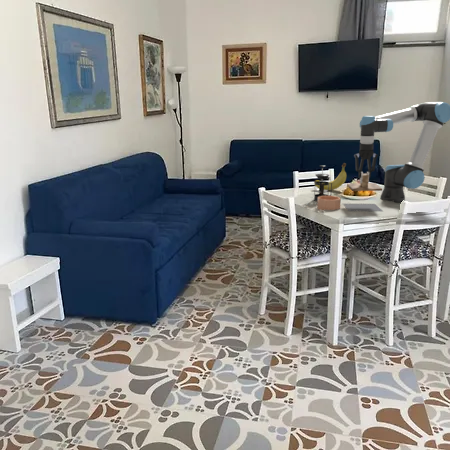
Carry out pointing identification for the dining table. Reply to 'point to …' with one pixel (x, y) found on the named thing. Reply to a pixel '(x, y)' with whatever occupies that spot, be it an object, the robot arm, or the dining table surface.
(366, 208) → the mat
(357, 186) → the lid
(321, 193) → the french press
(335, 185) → the banana
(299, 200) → the dining table surface
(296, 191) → the dining table surface
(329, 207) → the bowl
